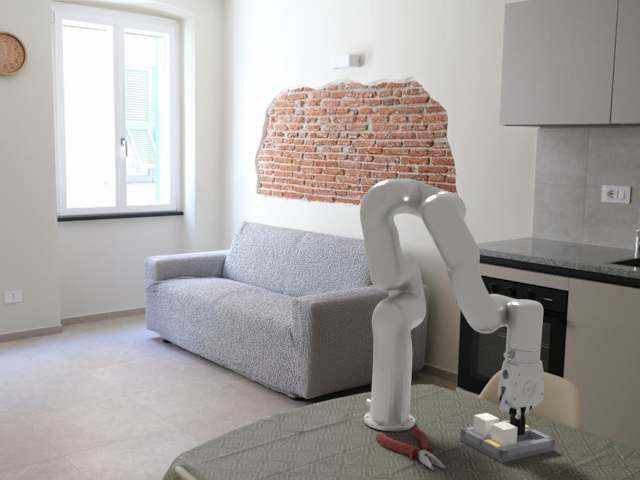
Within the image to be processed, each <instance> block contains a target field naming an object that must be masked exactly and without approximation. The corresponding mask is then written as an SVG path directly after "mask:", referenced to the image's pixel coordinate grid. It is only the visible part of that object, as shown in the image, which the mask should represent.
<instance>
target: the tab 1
mask: <svg viewBox="0 0 640 480" xmlns="http://www.w3.org/2000/svg"><path fill="white" fill-rule="evenodd" d="M499 421H500V418H499V417H497V416H496V415H492V414H490V413H488V412H483V413H479V414H478V413H477V414H473V425H472V427H473V432H475V433H477V434H478V435H480V436H482V437H484V438H486V437H490V436H491V426H492V424H494V423H499Z"/></svg>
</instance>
